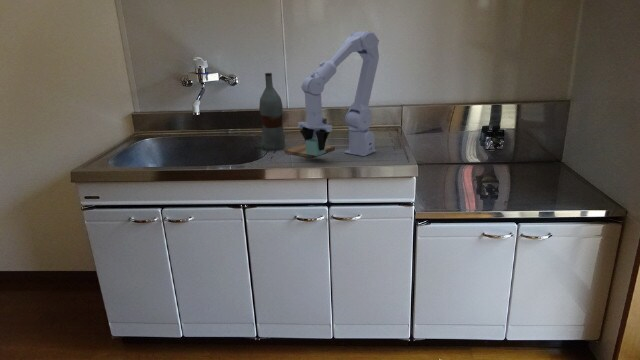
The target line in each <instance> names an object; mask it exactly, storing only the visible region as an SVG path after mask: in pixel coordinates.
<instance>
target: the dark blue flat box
mask: <svg viewBox="0 0 640 360" xmlns="http://www.w3.org/2000/svg"><path fill="white" fill-rule="evenodd" d="M327 121H328V119H327V117H325V116H322V123H324V124H327V125H328V122H327ZM318 131H319V130H315V129H314V132H313V138H317V135H316V132H318Z"/></svg>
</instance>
